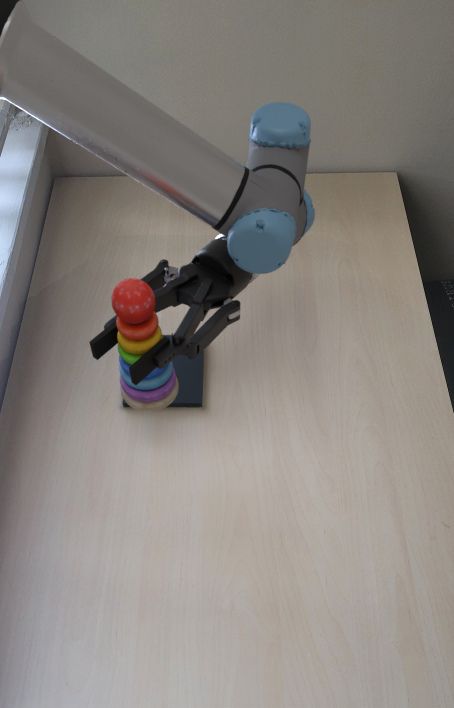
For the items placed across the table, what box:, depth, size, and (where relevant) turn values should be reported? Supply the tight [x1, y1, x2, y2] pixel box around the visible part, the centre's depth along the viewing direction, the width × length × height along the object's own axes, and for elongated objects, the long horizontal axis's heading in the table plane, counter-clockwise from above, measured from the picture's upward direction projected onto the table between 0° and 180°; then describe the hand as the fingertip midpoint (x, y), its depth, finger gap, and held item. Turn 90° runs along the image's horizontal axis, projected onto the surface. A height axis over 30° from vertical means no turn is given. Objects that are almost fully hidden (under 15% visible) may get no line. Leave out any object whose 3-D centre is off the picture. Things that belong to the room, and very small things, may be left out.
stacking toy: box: [110, 277, 179, 413], centre depth 80 cm, size 8×8×19 cm
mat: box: [122, 334, 205, 408], centre depth 100 cm, size 12×14×1 cm
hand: (112, 363), depth 78 cm, fingers closed on stacking toy, 6 cm apart
